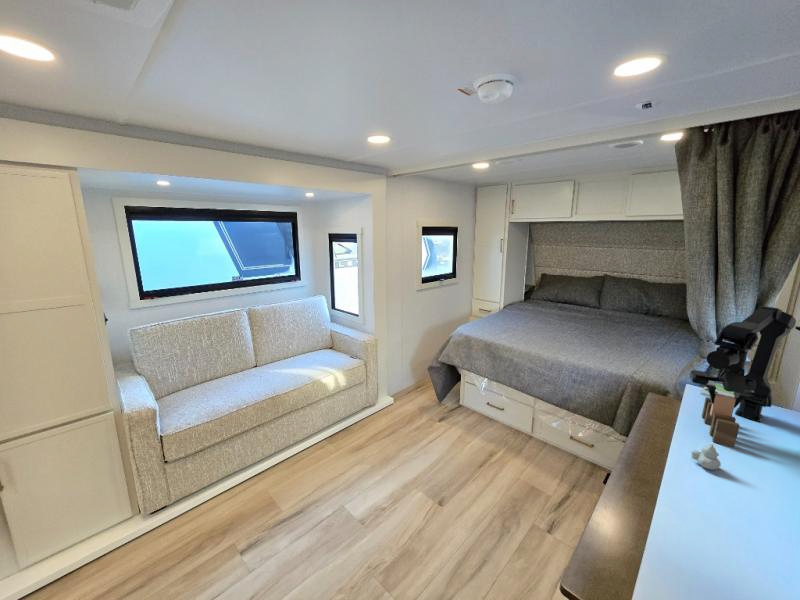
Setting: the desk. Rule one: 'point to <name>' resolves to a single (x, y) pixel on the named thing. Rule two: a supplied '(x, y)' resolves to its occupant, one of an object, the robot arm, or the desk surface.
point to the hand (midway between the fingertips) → (722, 405)
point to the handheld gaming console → (716, 391)
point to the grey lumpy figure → (707, 457)
